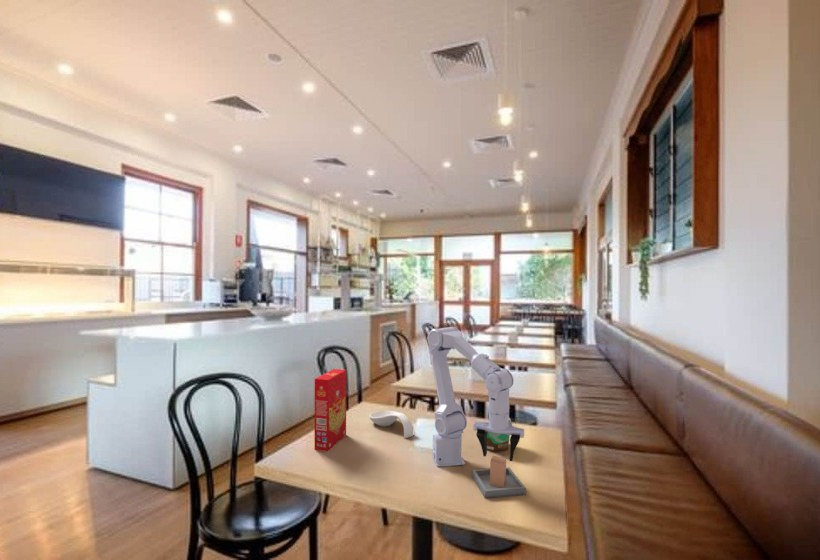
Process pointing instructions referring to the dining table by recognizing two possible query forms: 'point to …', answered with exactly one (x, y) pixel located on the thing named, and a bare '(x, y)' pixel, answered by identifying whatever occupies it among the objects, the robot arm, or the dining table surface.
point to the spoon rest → (392, 420)
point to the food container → (498, 441)
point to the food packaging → (330, 409)
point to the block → (498, 471)
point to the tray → (483, 481)
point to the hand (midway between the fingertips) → (498, 457)
